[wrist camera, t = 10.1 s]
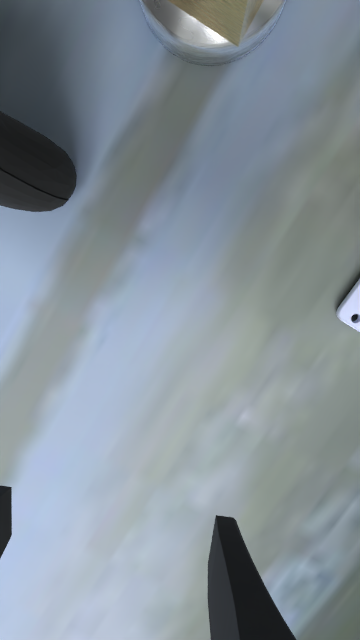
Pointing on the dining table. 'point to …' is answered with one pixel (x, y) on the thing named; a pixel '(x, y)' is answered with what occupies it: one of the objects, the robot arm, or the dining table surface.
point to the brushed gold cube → (222, 15)
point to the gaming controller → (32, 169)
